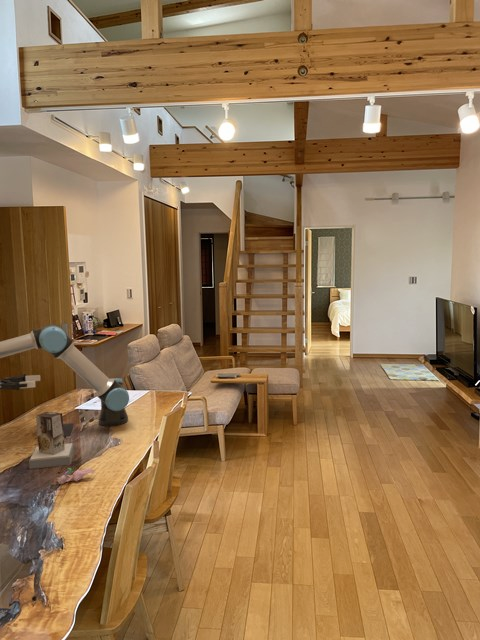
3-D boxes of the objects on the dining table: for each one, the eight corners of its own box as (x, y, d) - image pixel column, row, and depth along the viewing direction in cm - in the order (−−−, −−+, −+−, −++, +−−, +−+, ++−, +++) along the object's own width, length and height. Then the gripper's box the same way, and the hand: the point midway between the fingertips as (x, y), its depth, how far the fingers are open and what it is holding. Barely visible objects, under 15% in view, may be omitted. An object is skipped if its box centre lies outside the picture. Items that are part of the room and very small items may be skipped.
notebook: (49, 428, 264) (42, 441, 244) (49, 425, 264) (42, 438, 244) (74, 425, 267) (70, 439, 246) (74, 422, 267) (70, 436, 246)
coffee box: (65, 449, 219) (63, 412, 218) (54, 454, 213) (51, 417, 212) (49, 447, 223) (46, 410, 221) (38, 452, 217) (35, 415, 215)
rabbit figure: (55, 490, 191) (96, 478, 196) (51, 476, 190) (92, 464, 195) (56, 484, 197) (95, 472, 201) (52, 469, 196) (91, 458, 201)
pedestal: (74, 451, 228) (73, 442, 228) (70, 464, 213) (69, 455, 212) (36, 455, 225) (35, 446, 224) (29, 469, 209) (28, 459, 209)
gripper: (-5, 386, 244) (42, 382, 249) (-19, 399, 220) (33, 395, 224) (-6, 370, 243) (41, 367, 248) (-21, 382, 219) (32, 378, 224)
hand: (37, 380), depth 236 cm, fingers open, 13 cm apart
